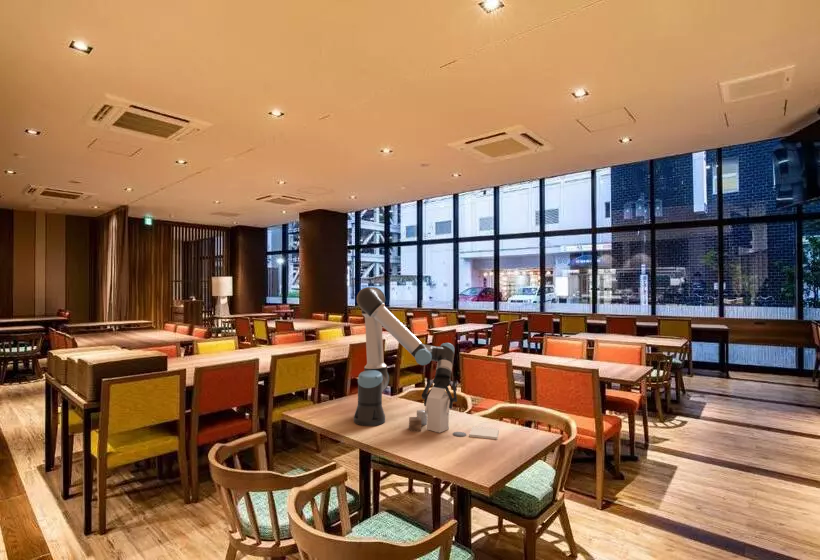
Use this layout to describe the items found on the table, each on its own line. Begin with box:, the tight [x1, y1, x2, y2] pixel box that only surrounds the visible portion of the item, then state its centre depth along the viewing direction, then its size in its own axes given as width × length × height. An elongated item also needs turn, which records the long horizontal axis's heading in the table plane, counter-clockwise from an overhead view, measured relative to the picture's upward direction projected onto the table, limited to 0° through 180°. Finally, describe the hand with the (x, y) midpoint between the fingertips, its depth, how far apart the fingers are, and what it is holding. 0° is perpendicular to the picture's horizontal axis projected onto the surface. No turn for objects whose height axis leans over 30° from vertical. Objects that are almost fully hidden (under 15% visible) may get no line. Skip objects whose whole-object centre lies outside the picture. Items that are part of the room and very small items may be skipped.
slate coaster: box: [452, 431, 467, 438], centre depth 191 cm, size 6×6×1 cm
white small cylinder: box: [416, 409, 427, 427], centre depth 205 cm, size 5×5×6 cm
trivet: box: [469, 425, 500, 440], centre depth 193 cm, size 12×12×1 cm
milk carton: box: [426, 386, 450, 434], centre depth 197 cm, size 7×7×19 cm
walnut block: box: [408, 416, 422, 432], centre depth 197 cm, size 5×5×5 cm
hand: (436, 413), depth 194 cm, fingers closed on milk carton, 9 cm apart
